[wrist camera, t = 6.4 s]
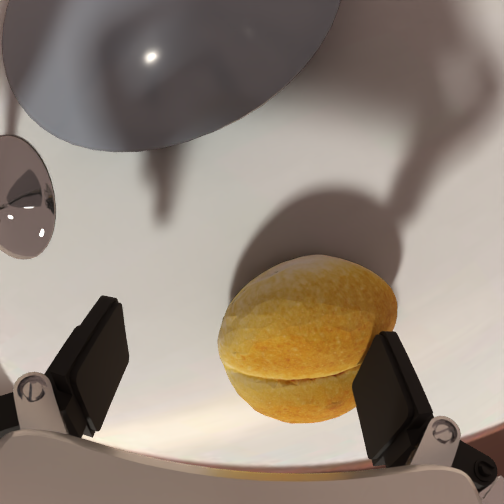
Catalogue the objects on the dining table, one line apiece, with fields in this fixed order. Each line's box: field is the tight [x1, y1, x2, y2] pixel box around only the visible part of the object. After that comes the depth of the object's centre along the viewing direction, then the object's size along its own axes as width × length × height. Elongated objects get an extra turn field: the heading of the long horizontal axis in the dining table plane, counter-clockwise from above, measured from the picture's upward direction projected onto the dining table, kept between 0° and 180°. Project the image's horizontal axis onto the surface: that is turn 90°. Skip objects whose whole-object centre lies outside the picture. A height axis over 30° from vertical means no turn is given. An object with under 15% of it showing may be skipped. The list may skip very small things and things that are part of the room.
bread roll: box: [218, 255, 397, 423], centre depth 13 cm, size 8×9×4 cm
